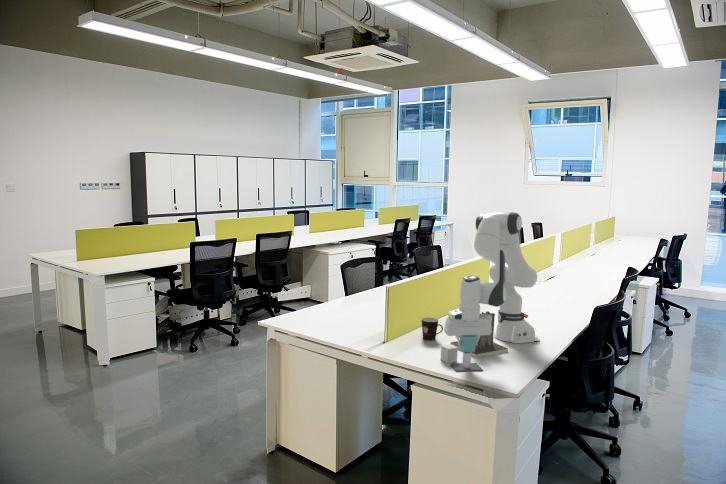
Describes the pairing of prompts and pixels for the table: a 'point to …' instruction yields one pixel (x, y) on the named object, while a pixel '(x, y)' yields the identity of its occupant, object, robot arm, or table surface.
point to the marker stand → (466, 364)
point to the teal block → (468, 343)
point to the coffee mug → (430, 328)
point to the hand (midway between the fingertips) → (467, 345)
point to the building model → (485, 343)
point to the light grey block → (449, 353)
